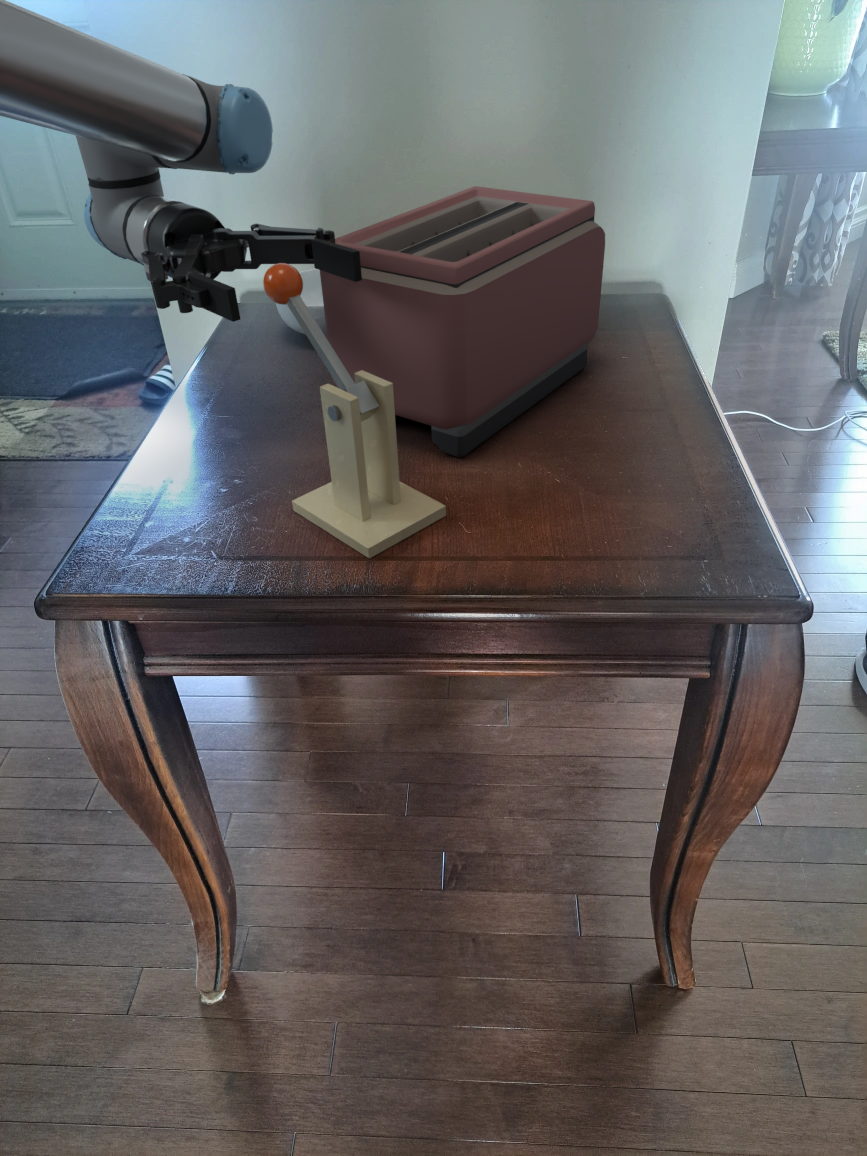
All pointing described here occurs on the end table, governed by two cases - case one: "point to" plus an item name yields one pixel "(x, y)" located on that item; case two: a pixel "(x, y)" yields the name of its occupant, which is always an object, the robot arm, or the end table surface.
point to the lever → (315, 332)
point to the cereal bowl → (307, 302)
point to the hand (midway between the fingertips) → (299, 285)
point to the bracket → (365, 475)
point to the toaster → (470, 307)
